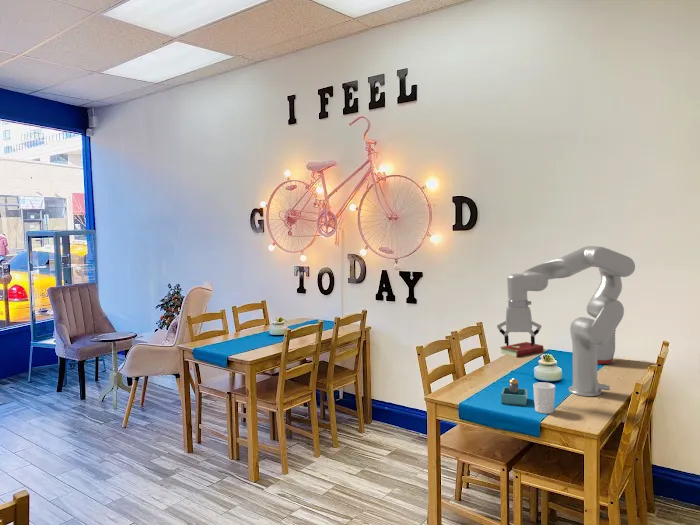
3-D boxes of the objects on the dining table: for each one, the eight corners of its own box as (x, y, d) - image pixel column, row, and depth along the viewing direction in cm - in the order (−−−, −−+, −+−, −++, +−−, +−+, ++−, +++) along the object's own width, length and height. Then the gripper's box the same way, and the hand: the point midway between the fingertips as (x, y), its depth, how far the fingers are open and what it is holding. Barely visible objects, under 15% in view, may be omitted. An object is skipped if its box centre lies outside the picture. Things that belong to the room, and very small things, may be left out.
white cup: (550, 406, 205) (549, 381, 205) (558, 413, 197) (558, 387, 197) (530, 407, 205) (530, 382, 204) (538, 414, 197) (537, 388, 196)
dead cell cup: (527, 398, 216) (527, 389, 215) (525, 406, 207) (525, 396, 207) (503, 396, 219) (503, 387, 219) (501, 403, 210) (501, 394, 210)
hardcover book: (543, 352, 292) (543, 345, 292) (516, 358, 281) (516, 350, 281) (526, 348, 302) (526, 341, 302) (500, 353, 292) (500, 346, 292)
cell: (518, 398, 214) (518, 378, 213) (517, 401, 211) (518, 380, 210) (509, 397, 215) (509, 377, 215) (508, 400, 212) (508, 379, 211)
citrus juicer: (572, 360, 273) (572, 322, 271) (599, 356, 278) (599, 319, 276) (594, 367, 258) (594, 327, 256) (623, 363, 263) (623, 324, 261)
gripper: (540, 302, 215) (542, 343, 216) (496, 303, 221) (498, 343, 222) (540, 305, 208) (542, 348, 209) (495, 306, 214) (497, 347, 215)
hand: (519, 345), depth 216 cm, fingers open, 9 cm apart
